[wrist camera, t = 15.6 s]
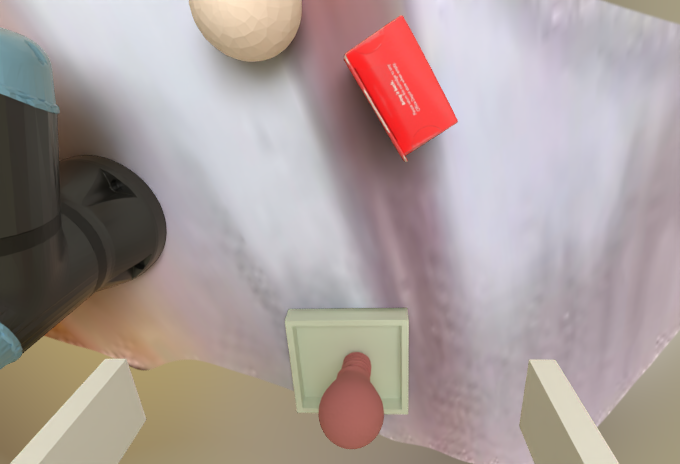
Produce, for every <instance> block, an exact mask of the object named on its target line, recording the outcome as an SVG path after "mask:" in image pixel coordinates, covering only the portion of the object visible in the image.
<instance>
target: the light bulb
mask: <svg viewBox="0 0 680 464" xmlns="http://www.w3.org/2000/svg"><path fill="white" fill-rule="evenodd" d="M370 376H371V361H370V359H369V358H368V356H366V355H365V354H363V353H360V352H353V353H350V354H348V355H347V356H346V357H345V358H344V360H343V365H342V368H341V370H340V371H339V372H338V374H337V379H336V380H335V381H334V382H332V384H331V385H330V386H329V387H328V388H327V390H326V391H325V392H324V394H323V396H322V398H321V401H320V404H319V421H320V425H321V428H322V430H323V432H324V433H325V435H326V436H327V438H328V439H329V440H330V441H332V442H333V443H334V444H336V445H337V446H339V447H342V448H346V449H357V448H361V447H363V446H366V445H368V444H369V443H370V442H371V441H373V440H374V439H375V438H376V436H377V435H378V433H379V431H380V429H381V427H382V424H383V419H384V409H383V403H382V400H381V398H380V396H379V394H378V392H377V391H376V389H375V387H374V386H373V385H372V383H371V382H370Z"/></svg>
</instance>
